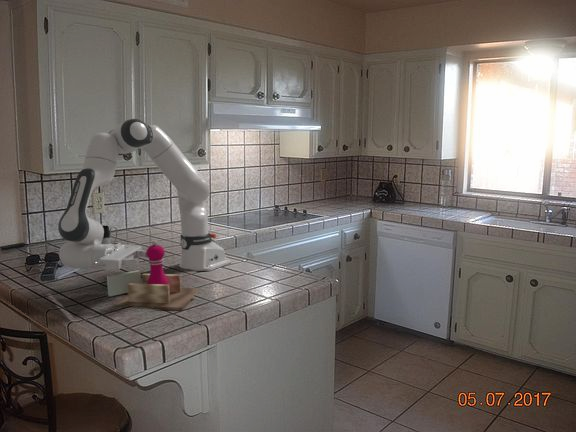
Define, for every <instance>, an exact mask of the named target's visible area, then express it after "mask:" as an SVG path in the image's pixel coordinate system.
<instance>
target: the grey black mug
mask: <svg viewBox="0 0 576 432" xmlns="http://www.w3.org/2000/svg"><path fill="white" fill-rule="evenodd" d="M102 226H103V228H104V237H103V241H102V244H111V236H112V232H111V231H112V229H113V228H114V229H115V239H114V242H113V243H117V239H118V235H119V233H118V229H117V227H116V226H111V227H110V226H109V225H105V224H104V225H103V224H102Z"/></svg>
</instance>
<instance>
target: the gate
mask: <svg viewBox="0 0 576 432" xmlns="http://www.w3.org/2000/svg"><path fill="white" fill-rule="evenodd" d="M129 283H135V284H142V274H141V270H139V269H138V270H133V271H127V272H122V273H117V274H111V275H106V284H107V295H108V296H109V297H114V296H118V295H123V294H128V284H129Z"/></svg>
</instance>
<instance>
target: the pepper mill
mask: <svg viewBox="0 0 576 432" xmlns="http://www.w3.org/2000/svg"><path fill="white" fill-rule="evenodd" d="M151 244H152V245H150V246H148V248H147V249H146V251H147V252H146V254H147V257H146V258H148V264H149V266H150V273H149V274H150V276H149V279H148V282H147V284H166V285H169V284H168V280H167V278H166V276H165V274H166V273H165V271H164V267H163V264H164V263H165V261H164V260H165V259H164V256H165V249H164V247H163V246H161V245H159V244H158V241H157V240H153V241H152V243H151Z"/></svg>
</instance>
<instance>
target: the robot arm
mask: <svg viewBox="0 0 576 432" xmlns="http://www.w3.org/2000/svg"><path fill="white" fill-rule="evenodd" d="M138 149H141V150H142V151H144V152H145V153H146V154H147V156H148V157H149V158H150V160H151V161H152V162H153V163H154V164H155V166H156V167H157V168H158V170H160V172H161V173H162V174H163V175H164V177H166V179H167V180H168V181H169V182H171V184H172V185H173V186H174V187H175V189H176V194H177V201H178V202H177V203H178V210H179V214H180V215H179V216H180V231H181V234H180V247H181V253H180V254H181V257H180V262H179V267H180V268H181V269H185V270H192V271H194V272H198V271H200V272H201V271H202V272H203V271H205V272H209V271H210V272H211V271H213V270H217V269H218V268H221V267H223V266H226V265H230V264H231V263H232V260H231V259H230V258H228V257H226V252H225V249H224V248H223V247H221V246H220V245H218V244H217V243H216V242H214V241H213V239H217V234H216V233H210V232H209V221H208V219H209V218H208V212H207V205H206V200H207V199H208V198H209V196H210V193H211V189H210V185H209V183H208V181H207V179H205V178H204V176H203V174H201V173H200V171H199V170H197V168H196V167H195V166H194V165H193V164H192V163H191V161H189V159H187V157H186V156H185V154H183V152H182V151H181V150H180V148H179V147H178V146H177V145H176V144H175V142H174V141H173V140H172V138H171V137H170V136H169V135H168V134H167V133H165V131H164V130H163V129H161V127H159V126H158V125H156V124H147V123H145V122H144V121H143V120H142V119H138V118H130V119H127V120H125V121H123V122H121V123H119V124H117V125H116V126H115V128H113V129H111V130H110V131H109V132H108V133H107V132H98V133H94V135H93V136H92V137H91V139H90V141H89V143H88V146H87V149H86V151H85V156H84V161H83V164H82V168H81V170H80V171H79V172H78V174H77V176H76V178H75V181H74V184H73V187H72V189H71V193H70V196H69V199H68V203H67V205H66V208H65V211H63V213H62V215H61V217H60V219H59V221H58V226H57V229H58V230H57V231H58V233H59V235H60V237H61V238H62V239H64V240H66V243H64V244H63V245H61V247H60V248H59V251H58V253H59V254H58V255H59V256H58V257H59V261H60V262H61V263H62V265H63V266H64V267H66V268H70V269H76V270H87V269H94V270H98V271H99V270H106V271H119V270H121V269H123V268H124V267H125V266H126V267H127V266H128V267H129V266H133V265H136V266H137V265H138V264H140V259H139V258H141V257H143V258H148V257H147V254H146V252H147V250H146V251H145V250H143V248H142V246H141V245H136V244H128V243H127V244H121V242H116V243H114V242H112V243H110V244H102V241H103V237H104V228H103V226H102V225H103V224H102V223H101V222H99V221H97V220H96V219H94V218H92V217H89V216H88V213H87V210H88V206H89V203H90V199H91V196H92V193H93V190H95V189H96V188H97V187H103V186H106V185H108V184H110V183H111V182H112V180H113V179H114V177H115V174H116V169H117V164H118V163H117V162H118V157H119V156H125V155H128V154H130V153H134V152H135V151H137V150H138Z"/></svg>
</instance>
